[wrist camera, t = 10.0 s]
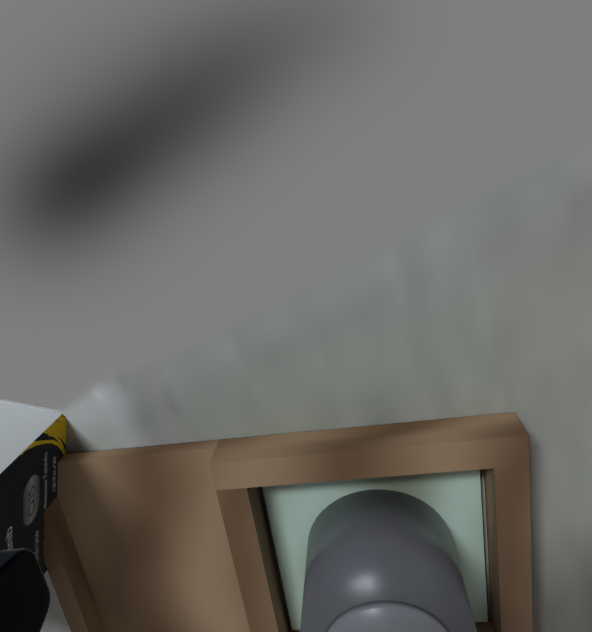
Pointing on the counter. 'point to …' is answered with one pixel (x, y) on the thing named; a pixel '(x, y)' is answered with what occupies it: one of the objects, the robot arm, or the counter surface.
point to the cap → (383, 568)
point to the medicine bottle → (28, 472)
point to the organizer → (276, 521)
